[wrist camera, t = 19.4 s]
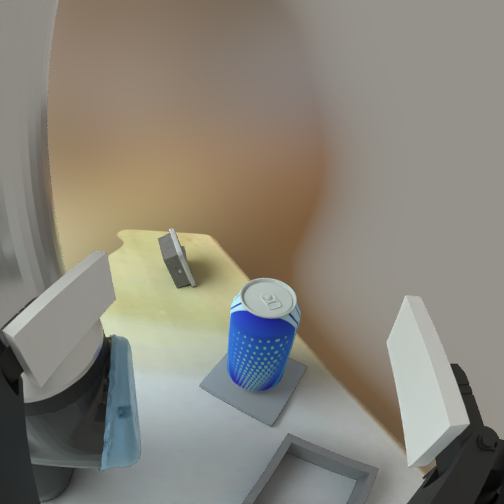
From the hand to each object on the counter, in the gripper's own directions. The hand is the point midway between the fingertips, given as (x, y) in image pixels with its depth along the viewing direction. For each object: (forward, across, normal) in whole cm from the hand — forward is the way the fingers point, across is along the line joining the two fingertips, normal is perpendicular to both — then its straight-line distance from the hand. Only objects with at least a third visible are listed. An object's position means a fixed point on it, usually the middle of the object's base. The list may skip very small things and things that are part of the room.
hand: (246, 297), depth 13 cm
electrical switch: (+38, -20, -26) cm, 50 cm away
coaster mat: (+19, -1, -29) cm, 34 cm away
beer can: (+20, -1, -28) cm, 34 cm away
